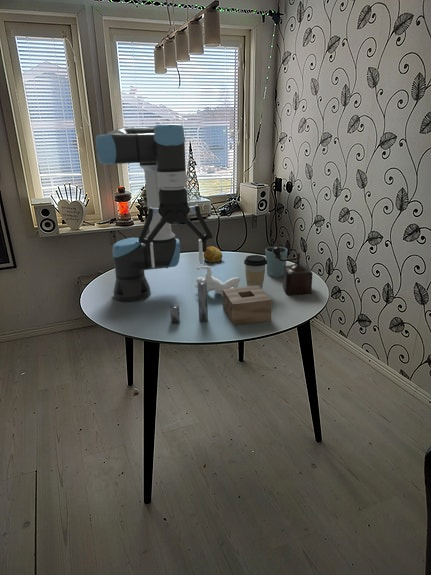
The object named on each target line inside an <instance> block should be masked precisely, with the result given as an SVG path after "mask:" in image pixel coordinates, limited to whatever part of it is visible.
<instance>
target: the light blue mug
mask: <svg viewBox="0 0 431 575" xmlns="http://www.w3.org/2000/svg"><path fill="white" fill-rule="evenodd" d="M274 247H275V246H270V247H266V248H265V250H264V251H265V258H266V260H267V264H266V275H267V276H269V277H272V278H280V277H283V276H284V266H287V261H280V260H278V258H275V254H274V253H273V252H272V250H273V248H274ZM279 247H280V248H281V253H280V254H281V259H288V248H286V247H283V246H279Z"/></svg>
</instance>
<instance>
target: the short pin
mask: <svg viewBox="0 0 431 575" xmlns="http://www.w3.org/2000/svg"><path fill="white" fill-rule="evenodd" d="M169 314H170V323H171V324H172V325H178V324H180V323H181V318H180V314H181V313H180V306H179V305H178V304H173V305H170V306H169Z"/></svg>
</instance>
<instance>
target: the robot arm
mask: <svg viewBox="0 0 431 575" xmlns="http://www.w3.org/2000/svg"><path fill="white" fill-rule="evenodd" d="M184 130H185V128H184V126H183V125H182V124H180V123H177V124H176V123H174V124H173V123H170V124H169V123H167V124H165V123H164V124H156V125H154V126H124V127H119V128H116V129H114V130H110V131H109V132H107V133H105V134H97V135H96V137H95V146H96V154H97V160H98V163H100V164H102V165H110V166H111V165H123V164H139V167H140V168H141V169H143V170H144V181H145V193H146V204H147V217H146V220H145V222H144V224H143V227H142V229H141V232H140V234H139V237H128V238H124V239H121V240H118V241H116V242H115V243H114V244H113V245H112V258H113V263H114V264H113V265H114V274H115V282H114V286H113V292H112V293H113V297H114V299H115V300H117V301H120V302H128V303H129V302H137V301H140V300H141V301H142V300H144V299H146V298H148V297H149V296H150V295H151V291H152V290H151V286H150V283H149V282H148V279H147V278H146V276H145V275H146V274H145V271H147V270H149V271H150V270H158V269H159V270H160V269H169V268H175V267H177V266H178V265H179V263H180V257H181V247H180V246H181V243H180V239H179V238H176V234H175V233H174V232H173V231H172V224H181V223H183V222H184V223H185V224H186V225H187V226H188V227H189V229H191V230H192V231H193V232H194V233H195V235H196V236H198V238H199V239H198V258H199V260H198V261H199V264H200V265H204V252H206V248H207V241H208V240H209V239H213V234H212V233H211V230H210V229H209V227H208V225H207V223H206V221H205V220H204V217H203V216H202V214H201V208H200V205H198V204H194V205H191V206H189V203H188V202H189V201H188V189H187V188H186V187H187V186H188V182H187V168H186V167H187V166H186V146H185V145H186V144H185V143H186V142H185V141H186V137H185V131H184ZM190 212H192V214H194V215H196V218H197V219H198V222H199V224H200V225H201V227H202V228H203V230H204V232H205V234H203V232H202V231H201V230H200V229H199V228H198V227H197V226H196V224H194V223H193V221H191V220H190V218H189V217H188V215H189V213H190ZM148 230H149V233H148ZM147 233H148V234H147Z"/></svg>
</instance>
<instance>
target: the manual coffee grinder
mask: <svg viewBox="0 0 431 575" xmlns="http://www.w3.org/2000/svg"><path fill="white" fill-rule="evenodd" d="M273 247H274V248H273V250H272V252H273V253H274V254H275V258H278V260H280V261H286V262H289V261H294V260H297V261H295V262H294V264H291V265H286V266H284V276H282V277H283V280H282V289H283V292H284V294H285V295H286V296H287V295H288V296H304V295H303V294H310V295H312V285H313V272H312V271H311V269H310V267H309V266H308V264H306V265H304V264H302V263H300V258H301V253H300V252H297V254H296V255H297V256H295V257H290V258H287V259H281V254H280V253H281V248H280V247H281V246H273Z"/></svg>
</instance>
